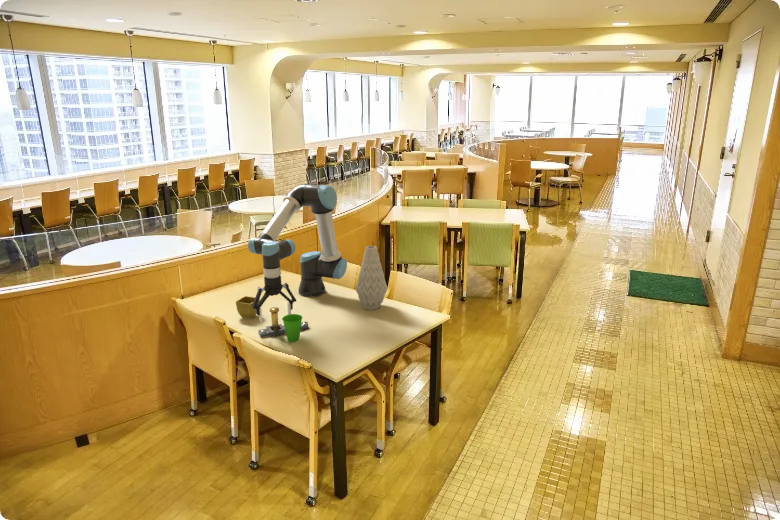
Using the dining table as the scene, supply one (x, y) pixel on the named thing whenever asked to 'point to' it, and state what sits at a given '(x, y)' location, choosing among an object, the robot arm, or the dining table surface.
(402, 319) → the dining table surface
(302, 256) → the robot arm
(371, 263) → the vase
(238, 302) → the flower pot
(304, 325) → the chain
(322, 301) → the dining table surface
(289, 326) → the cup
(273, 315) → the brass pin
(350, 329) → the dining table surface
